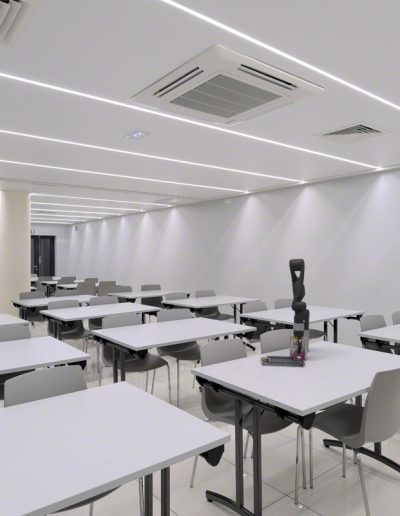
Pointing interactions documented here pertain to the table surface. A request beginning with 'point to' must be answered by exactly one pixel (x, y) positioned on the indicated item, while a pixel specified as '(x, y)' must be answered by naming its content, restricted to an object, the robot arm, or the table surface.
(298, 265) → the robot arm
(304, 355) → the candy bar box
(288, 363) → the grey tray
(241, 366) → the table surface
